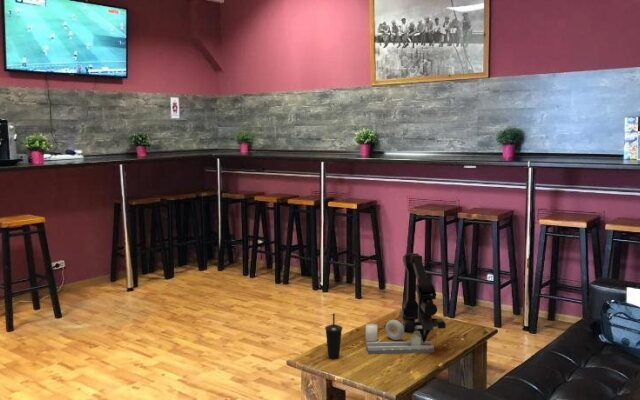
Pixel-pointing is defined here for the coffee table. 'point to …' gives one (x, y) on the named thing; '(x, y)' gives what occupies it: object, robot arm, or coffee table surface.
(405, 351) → the rail
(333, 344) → the drinking cup
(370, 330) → the white rounded cylinder
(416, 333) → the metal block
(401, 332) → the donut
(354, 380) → the coffee table surface
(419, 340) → the tally marker
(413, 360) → the coffee table surface
